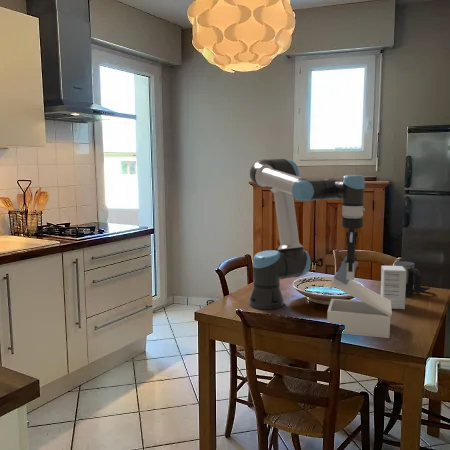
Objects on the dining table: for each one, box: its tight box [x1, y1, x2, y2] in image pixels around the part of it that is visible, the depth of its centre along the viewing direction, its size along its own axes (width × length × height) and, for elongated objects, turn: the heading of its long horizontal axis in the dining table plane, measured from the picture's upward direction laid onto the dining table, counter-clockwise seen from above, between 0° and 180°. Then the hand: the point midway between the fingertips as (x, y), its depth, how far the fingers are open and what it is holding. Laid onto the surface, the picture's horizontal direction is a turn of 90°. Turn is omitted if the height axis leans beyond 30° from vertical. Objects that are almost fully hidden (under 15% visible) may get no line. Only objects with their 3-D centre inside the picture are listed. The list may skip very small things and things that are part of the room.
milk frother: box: [393, 261, 431, 297], centre depth 221 cm, size 14×16×15 cm
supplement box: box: [380, 265, 406, 310], centre depth 203 cm, size 10×9×17 cm
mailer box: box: [326, 298, 391, 339], centre depth 179 cm, size 22×16×8 cm
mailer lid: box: [329, 255, 393, 317], centre depth 176 cm, size 23×16×12 cm
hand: (350, 278), depth 178 cm, fingers closed on mailer lid, 3 cm apart
